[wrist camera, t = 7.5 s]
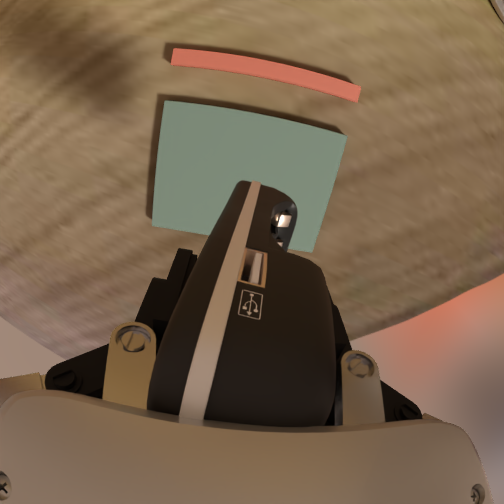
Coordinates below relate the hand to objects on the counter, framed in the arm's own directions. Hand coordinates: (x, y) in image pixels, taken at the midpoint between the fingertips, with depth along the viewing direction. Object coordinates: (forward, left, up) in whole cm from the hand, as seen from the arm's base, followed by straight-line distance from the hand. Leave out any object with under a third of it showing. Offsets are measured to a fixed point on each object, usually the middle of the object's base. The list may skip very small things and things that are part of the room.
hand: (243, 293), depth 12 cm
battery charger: (-1, 0, -4) cm, 4 cm away
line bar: (0, -10, -17) cm, 20 cm away
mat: (0, 0, -17) cm, 17 cm away
